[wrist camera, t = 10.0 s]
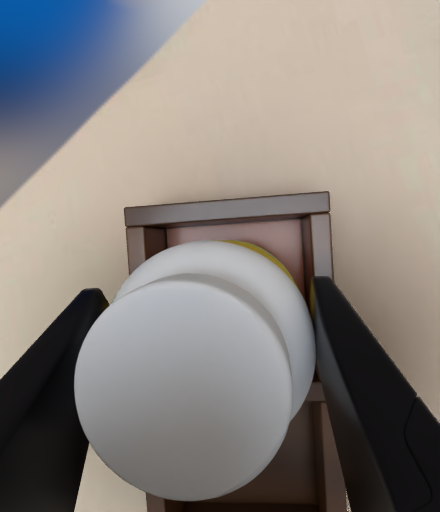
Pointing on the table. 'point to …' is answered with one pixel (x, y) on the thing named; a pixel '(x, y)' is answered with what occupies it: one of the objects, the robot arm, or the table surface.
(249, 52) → the table surface
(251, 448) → the supplement bottle
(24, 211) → the table surface
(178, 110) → the table surface
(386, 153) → the table surface
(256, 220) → the box
